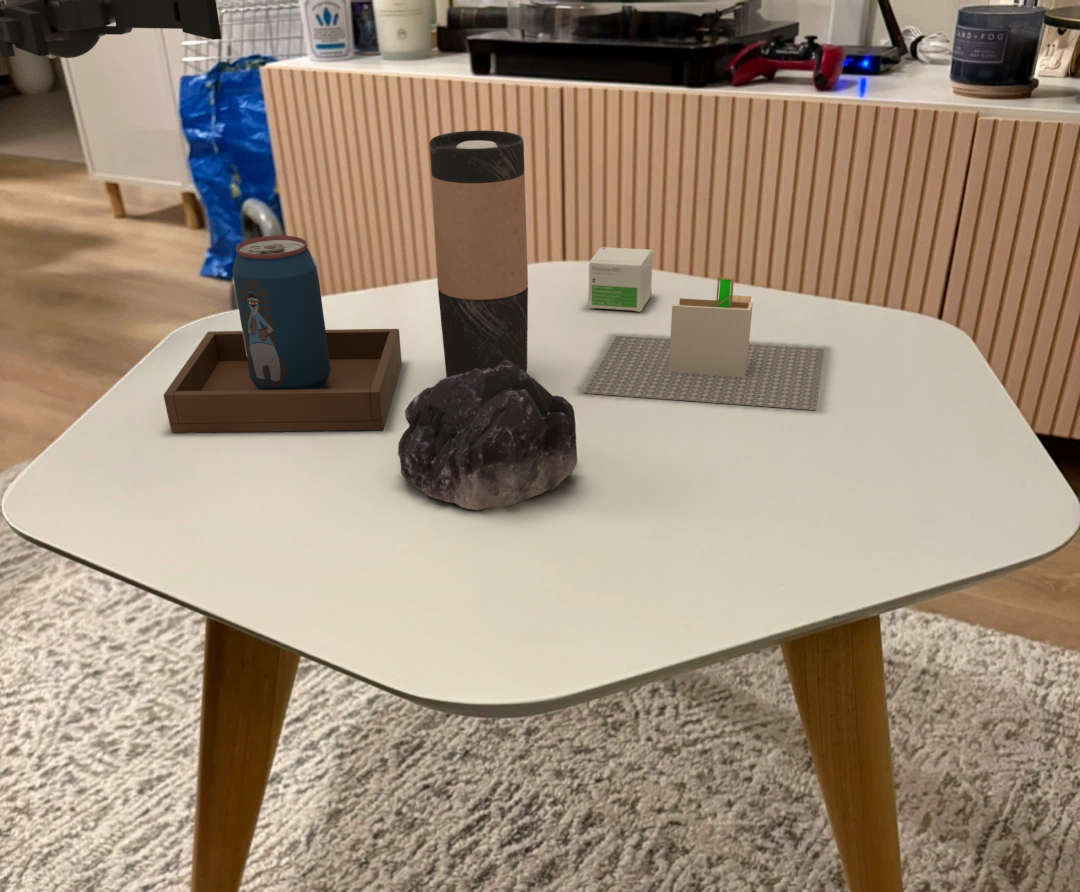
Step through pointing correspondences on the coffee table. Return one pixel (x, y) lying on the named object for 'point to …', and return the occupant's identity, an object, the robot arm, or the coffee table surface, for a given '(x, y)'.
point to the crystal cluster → (488, 438)
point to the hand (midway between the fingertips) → (129, 26)
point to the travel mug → (480, 248)
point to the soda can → (281, 313)
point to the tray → (239, 406)
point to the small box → (620, 278)
